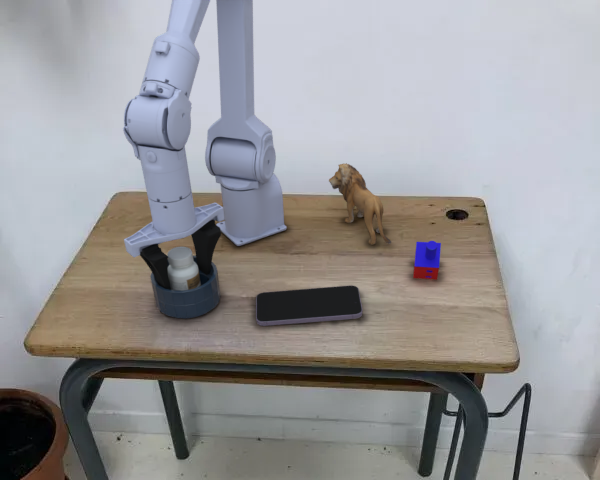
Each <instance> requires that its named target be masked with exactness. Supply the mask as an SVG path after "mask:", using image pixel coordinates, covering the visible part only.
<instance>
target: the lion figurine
mask: <svg viewBox="0 0 600 480" xmlns="http://www.w3.org/2000/svg"><path fill="white" fill-rule="evenodd" d="M328 182H329V184H330V185H331V187H332V189H333V190H336V189H338V193H340V194H341V195H342V197H343V200H344V201H345V202H346V210H347V211H346V212H347V214H348V217H346V218H345V219H344V222H345V223H347V224H351V223H353V222H354V220H355V215H354V208H355V207H356V209H357V210H358V211H357V213H356V217H357V218H363V219H364V223H365V226H366V228H367V231H368V233H369V236H370V238H369V239H368V245H370V246H372V245H376V243H377V236H376V233H378V234H380V236H381V238H382V239H383V241H384V243H386V244H388V245H390V244H392V240H391V239H389V237H387V236H386V234H384V229H383V228H384V226H383V218H384V217H383V215H384V204H383V203H382V200H381V198H380V197H379V196H378V195H375V194H373V192H371V191H370V190H369V189H368V187H367V183H366V180H365V179H364V177H363V174H361V173H360V171H359V170H358V169H357V168H356V167H354V166H353V165H351V164H349V163H347V162H346V163H340V164H338V168H337V171H335V172H334V175H333V176H332V177H330V178H329V179H328ZM374 217H375V218H376V222H377V227H376V228H375V230H374V225H373V224H374V223H373V221H374Z"/></svg>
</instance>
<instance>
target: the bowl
mask: <svg viewBox="0 0 600 480" xmlns="http://www.w3.org/2000/svg"><path fill="white" fill-rule="evenodd" d="M193 259H194V262H195V263H196V264H197V260H196V254H193ZM169 265H170V264H169V262H168V264H167V267H168V266H169ZM198 269H199V268H198ZM199 276H200V283H201V286H199V287H196V288H194V289H189V290H183V291H182V290H169V289H165V288H163V287H161V286H159V285H158V283H157V280H156V278H155V276H154V275H153V273H152V272H151V273H150V276H149V277H150V283H151V287H152V291H153V297H154V301H155V305H156V308H157V309H158V310H159V311H160V313H162V314H163V315H166V316H168V317H172V318H174V319H175V318H176V319H193V318H197V317H201V316H203V315H205V314H208V312H211V311H212V310H214V309H215V308H216V307H217V306H218V304H219V303H220V301H221V296H222V295H221V288H220V280H219V273H218V269H217V265H216V263H214V262H213V261H212V263H211V270H210V274H208V275H206V274H204V273H203V272H202V271H200V270H199Z"/></svg>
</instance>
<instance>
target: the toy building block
mask: <svg viewBox="0 0 600 480" xmlns="http://www.w3.org/2000/svg"><path fill="white" fill-rule="evenodd" d="M441 249H442V243H441V242H436V241H435V240H429V241H416V243H415V252H414V265H413V276H412V279H419V280H421V279H422V280H436V281H437V280H438V277H439V271H440V265H441V264H440V262H441Z"/></svg>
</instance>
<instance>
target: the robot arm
mask: <svg viewBox="0 0 600 480" xmlns="http://www.w3.org/2000/svg"><path fill="white" fill-rule="evenodd" d="M215 1H216V3H215V4H216V25H217V26H216V27H217V47H218V71H219V75H218V76H219V96H220V97H219V98H220V117H219V118H218V119H217V120H216V121H214V122H213V123H212V124H211V125H210V126H209V127H208V129H207V134H206V136H207V137H206V147H205V151H204V160H205V162H204V163H205V166H206V170H207V171H208V173H209V174H210V175H211V176H212V177H215V184H219V185H220V192H221V201H222V205H220V204H219V203H217V202H213V203H209V204H205V205H202V206H196V207H195V205H194V204H195V203H194V197H193V190H192V185H191V179H190V171H189V165H188V159H187V152H186V144H187V142H188V140H189V137H190V135H191V131H192V130H191V129H192V120H191V119H192V116H191V113H192V108H193V107H192V102H191V101H190V96H191V93H192V89H193V85H194V81H195V78H196V75H197V70H198V67H199V64H200V59H201V56H200V53H199V51H198V49H197V48H196V45H195V43H196V40H197V38H198V35H199V32H200V30H201V26H202V24H203V21H204V19H205V16H206V13H207V10H208V8H209V5H210V3H211V0H171V4H170V10H169V15H168V21H167V26H166V30H165V32H164V33H162V34H160V35H157V36H156V37H154V40H153V43H152V46H151V48H150V49H151V50H150V53H149V57H148V61H147V63H146V67H145V71H144V75H143V79H142V82H141V86H140V89H139V93H138V94H137V95H136V96H134V98H131V99H130V100H129V101H128V102H127V104H126V106H125V109H124V112H123V128H122V131H123V134H124V137H125V138H126V140H127V141H128V143H129V144H130V145H131V147H132V149H133V153H134V154H133V155H134V157H135V158H136V159H137V160H139V161H140V165H141V170H142V175H143V180H144V186H145V190H146V195H147V200H148V206H149V211H150V215H151V220H152V221H150V222H149V223H148V224H146V225H145V226H143V227H142V228H140V229H139V230H137V231H136V232H135V233H133V234H132V235H130V236H128V237H125V238H123V242H124V243H123V244H124V247H125V251H126V253H128V254H129V255H130V256H131V257H133V258H137V257H141V259H142V260H143V261H144V262H145V264H146V265H147V267H148V268H149V270H150V271H151V273H153V275H154V276H155V278H156V280H157V283H158V285H159V286H161V287H163V288H165V289H169V290H171V286H170V281H169V277H168V267H167V264H168V255H167V254H166V253H165V252H163V251H162V247H160V245H161V244H162V243H165V242H166V243H167V242H171V241H175V240H176V241H177V240H180V239H185V238H188V237H190V236H191V240H192V243H193V248H194V252H195V253H194V254H195V255H196V260H197V265H198V268H199V270H200V271H202V272H203V273H204V274H206V275H208V274H210V270H211V263H212V262H213V256H214V253H215V249H216V246H217V244H218V242H219V241H220V238H221V236H222V234H223V235H224V236H225V237H227V239H228V240H230V241H231V243H233V244H234V245H235V246H236V247H240V246H244V245H247V244H250V243H253V242H256V241H258V240H261V239H263V238H267V237H269V236H270V237H271V236H272V235H276V234H278V233H281V232H284V231H286V230H287V228H288V227H287V225H285V213H284V195H283V189H282V185H281V182H280V180H279V178H278V176H277V175H276V174H275V168H276V163H277V161H276V160H277V159H276V158H277V155H276V149H275V145H274V135H273V130H272V129H271V128H270V127H269V126H268V125H267V124H265V123H264V122H263V120H260V118H259V117H258V116H256V114H255V68H254V67H255V66H254V65H255V62H254V0H215ZM216 222H218V223H216Z"/></svg>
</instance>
